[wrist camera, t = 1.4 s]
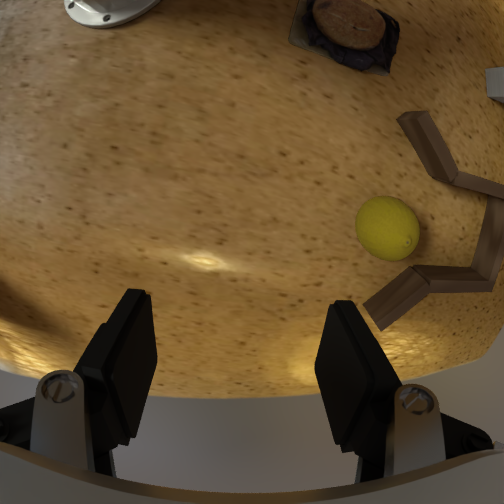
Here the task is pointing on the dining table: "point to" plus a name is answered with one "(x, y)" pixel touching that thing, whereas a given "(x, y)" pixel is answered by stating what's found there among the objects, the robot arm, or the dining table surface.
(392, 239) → the lemon
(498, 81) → the grey block
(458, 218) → the dining table surface
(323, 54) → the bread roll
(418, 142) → the corral
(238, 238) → the dining table surface
